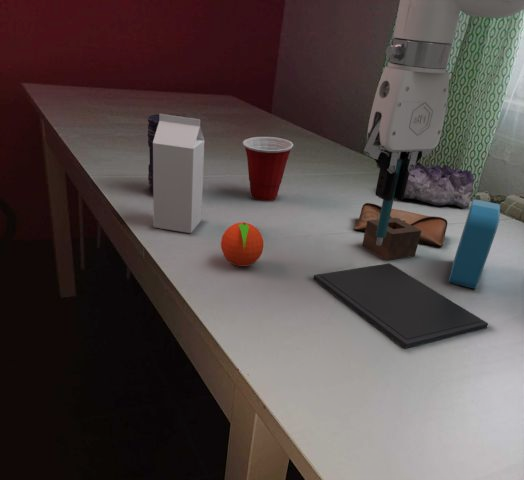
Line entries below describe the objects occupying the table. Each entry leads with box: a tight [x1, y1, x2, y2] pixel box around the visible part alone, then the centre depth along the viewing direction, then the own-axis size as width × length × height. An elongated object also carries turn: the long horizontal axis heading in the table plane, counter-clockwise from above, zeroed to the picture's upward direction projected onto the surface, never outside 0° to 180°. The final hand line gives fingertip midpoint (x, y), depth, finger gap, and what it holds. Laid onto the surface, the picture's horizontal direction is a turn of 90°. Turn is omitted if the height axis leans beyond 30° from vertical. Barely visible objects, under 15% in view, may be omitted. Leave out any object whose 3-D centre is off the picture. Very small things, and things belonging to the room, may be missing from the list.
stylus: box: [376, 158, 402, 246], centre depth 80 cm, size 2×2×13 cm
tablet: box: [313, 262, 489, 349], centre depth 82 cm, size 16×22×1 cm
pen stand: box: [361, 218, 421, 261], centre depth 99 cm, size 7×7×5 cm
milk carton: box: [152, 113, 205, 234], centre depth 96 cm, size 7×7×19 cm
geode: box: [403, 161, 475, 209], centre depth 130 cm, size 20×12×10 cm, turn 80°
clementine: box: [220, 221, 265, 267], centre depth 86 cm, size 8×7×7 cm
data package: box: [448, 199, 501, 290], centre depth 91 cm, size 12×4×12 cm, turn 158°
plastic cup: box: [242, 136, 294, 202], centre depth 118 cm, size 11×11×12 cm
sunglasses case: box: [354, 202, 448, 247], centre depth 109 cm, size 18×7×7 cm
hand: (389, 196), depth 80 cm, fingers closed on stylus, 1 cm apart
